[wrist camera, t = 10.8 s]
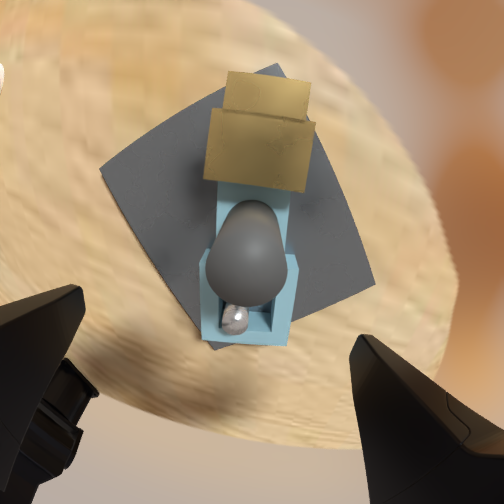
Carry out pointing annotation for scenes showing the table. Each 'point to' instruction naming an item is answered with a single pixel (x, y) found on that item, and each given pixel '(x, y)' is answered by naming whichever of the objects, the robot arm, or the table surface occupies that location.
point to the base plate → (194, 214)
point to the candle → (1, 77)
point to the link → (249, 265)
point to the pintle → (235, 319)
